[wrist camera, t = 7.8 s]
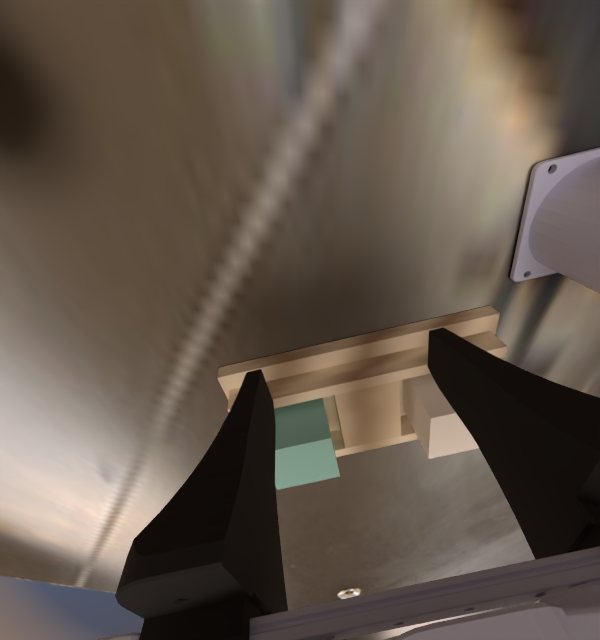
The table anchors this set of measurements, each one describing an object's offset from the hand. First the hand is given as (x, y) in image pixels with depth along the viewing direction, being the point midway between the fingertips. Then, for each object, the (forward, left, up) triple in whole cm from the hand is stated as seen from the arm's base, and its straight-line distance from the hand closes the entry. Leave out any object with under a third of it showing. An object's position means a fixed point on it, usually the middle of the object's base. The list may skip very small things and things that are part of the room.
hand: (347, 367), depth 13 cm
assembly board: (-2, +12, -9) cm, 15 cm away
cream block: (-8, +12, -8) cm, 17 cm away
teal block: (+4, +12, -8) cm, 15 cm away
